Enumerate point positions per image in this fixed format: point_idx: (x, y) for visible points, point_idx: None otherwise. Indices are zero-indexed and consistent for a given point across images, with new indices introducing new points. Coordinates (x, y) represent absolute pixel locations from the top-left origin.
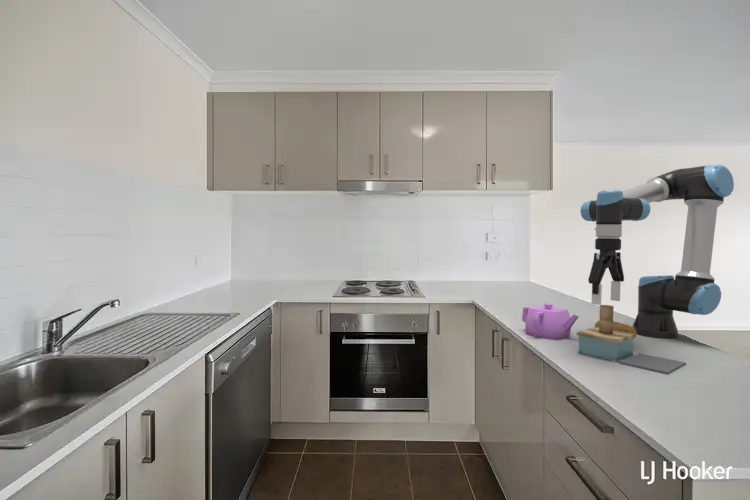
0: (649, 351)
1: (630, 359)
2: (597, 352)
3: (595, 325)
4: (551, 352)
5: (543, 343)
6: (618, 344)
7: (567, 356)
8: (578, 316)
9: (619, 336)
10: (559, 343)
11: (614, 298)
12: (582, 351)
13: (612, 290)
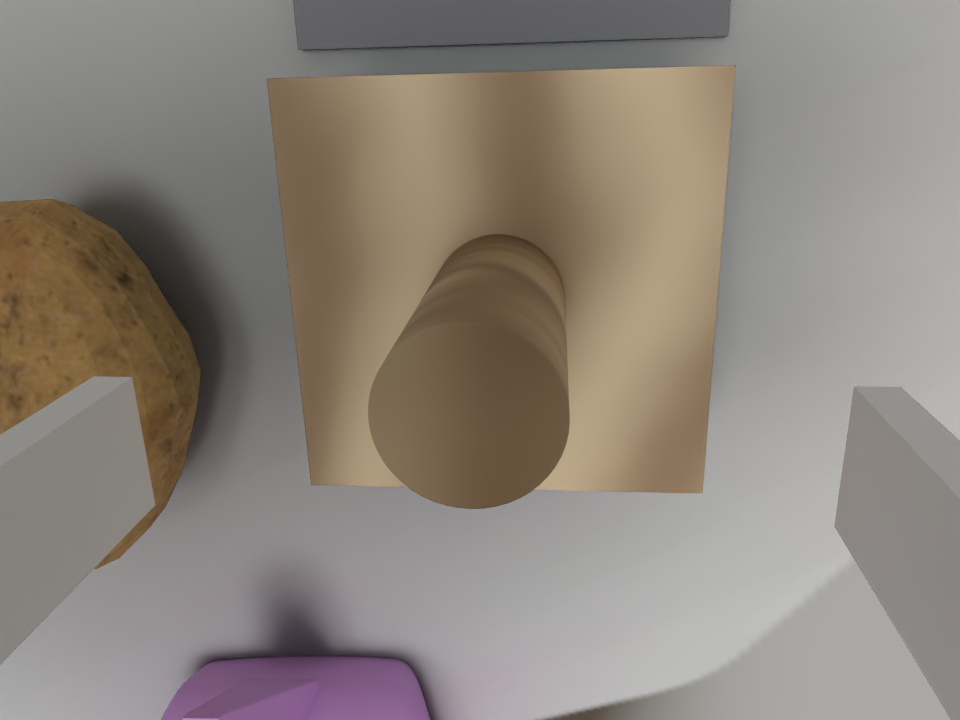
0: (111, 46)
1: (580, 4)
2: None
3: (121, 551)
4: (805, 530)
5: (594, 674)
6: None
7: (828, 406)
8: (188, 715)
9: (553, 131)
10: (496, 607)
11: (125, 465)
12: None
13: (42, 586)
